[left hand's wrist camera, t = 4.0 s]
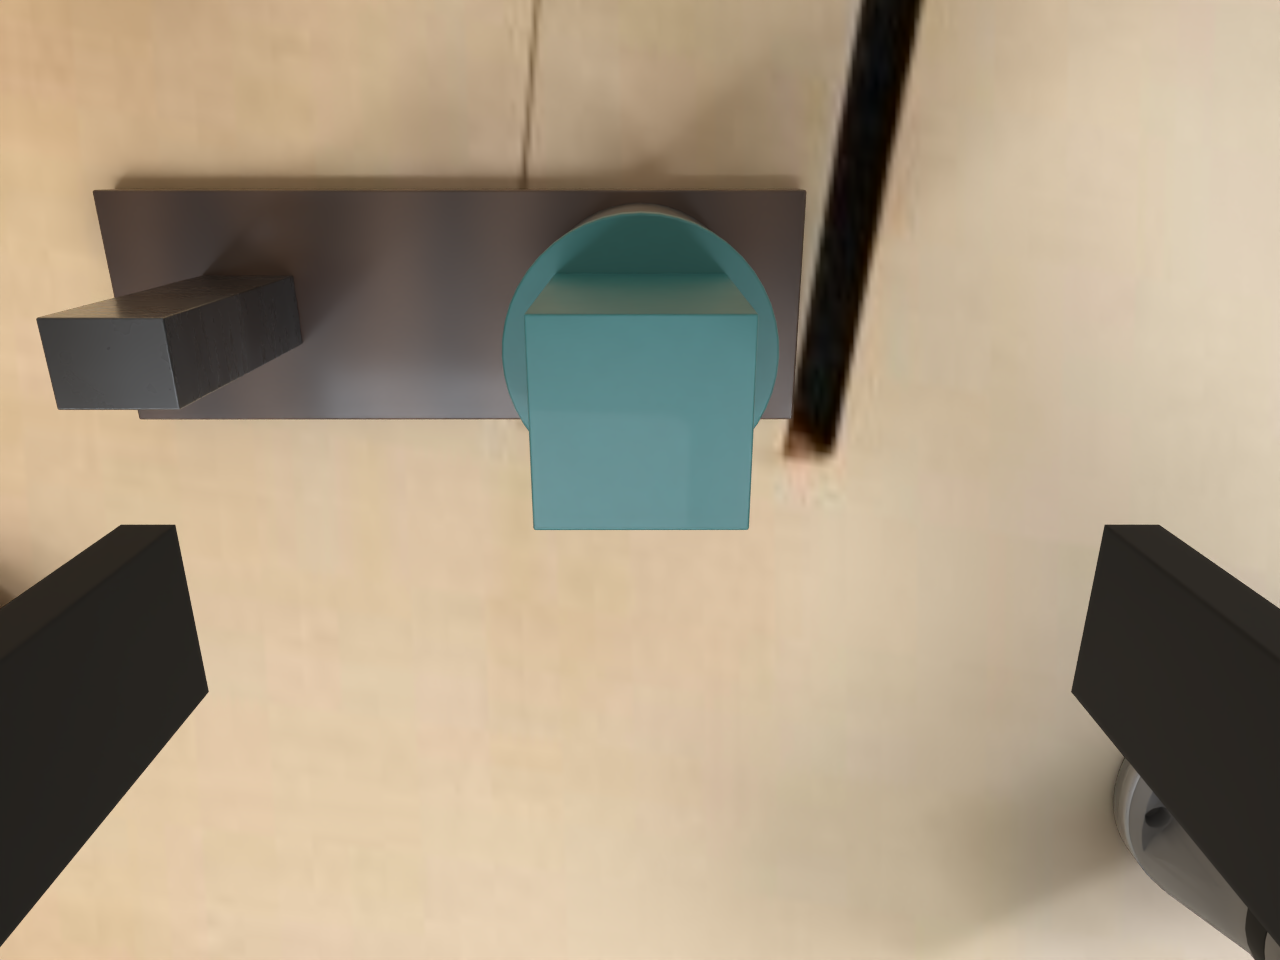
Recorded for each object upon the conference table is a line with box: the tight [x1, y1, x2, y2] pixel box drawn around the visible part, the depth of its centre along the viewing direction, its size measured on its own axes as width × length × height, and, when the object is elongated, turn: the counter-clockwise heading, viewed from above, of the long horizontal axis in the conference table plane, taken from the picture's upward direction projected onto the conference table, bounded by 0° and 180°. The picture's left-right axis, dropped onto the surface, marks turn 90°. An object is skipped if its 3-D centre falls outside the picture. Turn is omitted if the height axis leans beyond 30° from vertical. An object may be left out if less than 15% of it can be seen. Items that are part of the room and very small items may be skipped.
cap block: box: [502, 211, 779, 530], centre depth 25 cm, size 9×9×9 cm
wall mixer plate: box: [36, 189, 806, 419], centre depth 34 cm, size 30×10×12 cm, turn 90°
